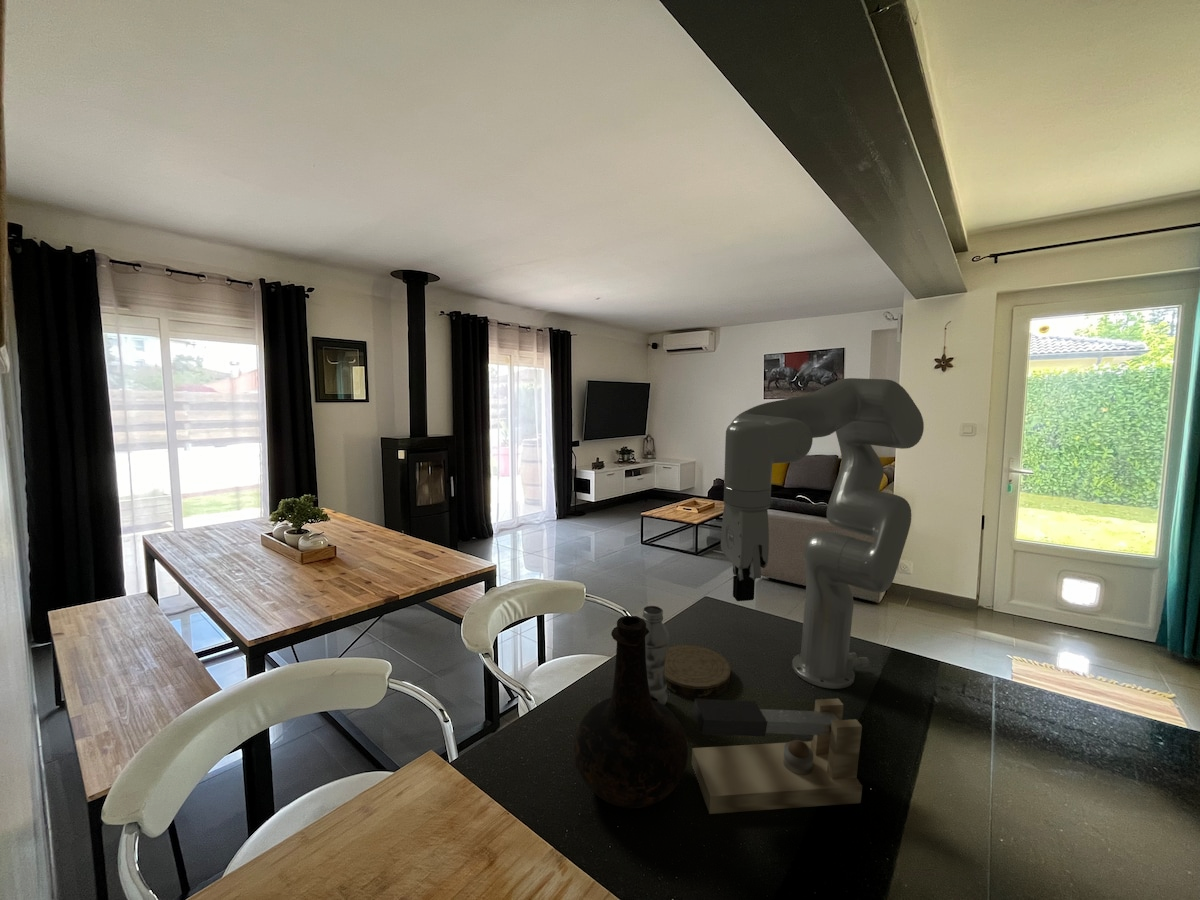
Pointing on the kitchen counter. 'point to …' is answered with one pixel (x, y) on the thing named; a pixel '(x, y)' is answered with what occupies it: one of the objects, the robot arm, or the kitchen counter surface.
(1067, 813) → the kitchen counter surface
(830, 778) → the nutcracker base
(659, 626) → the plastic bottle
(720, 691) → the brown round flat disc
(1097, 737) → the kitchen counter surface
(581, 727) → the glass bottle
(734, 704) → the lever
